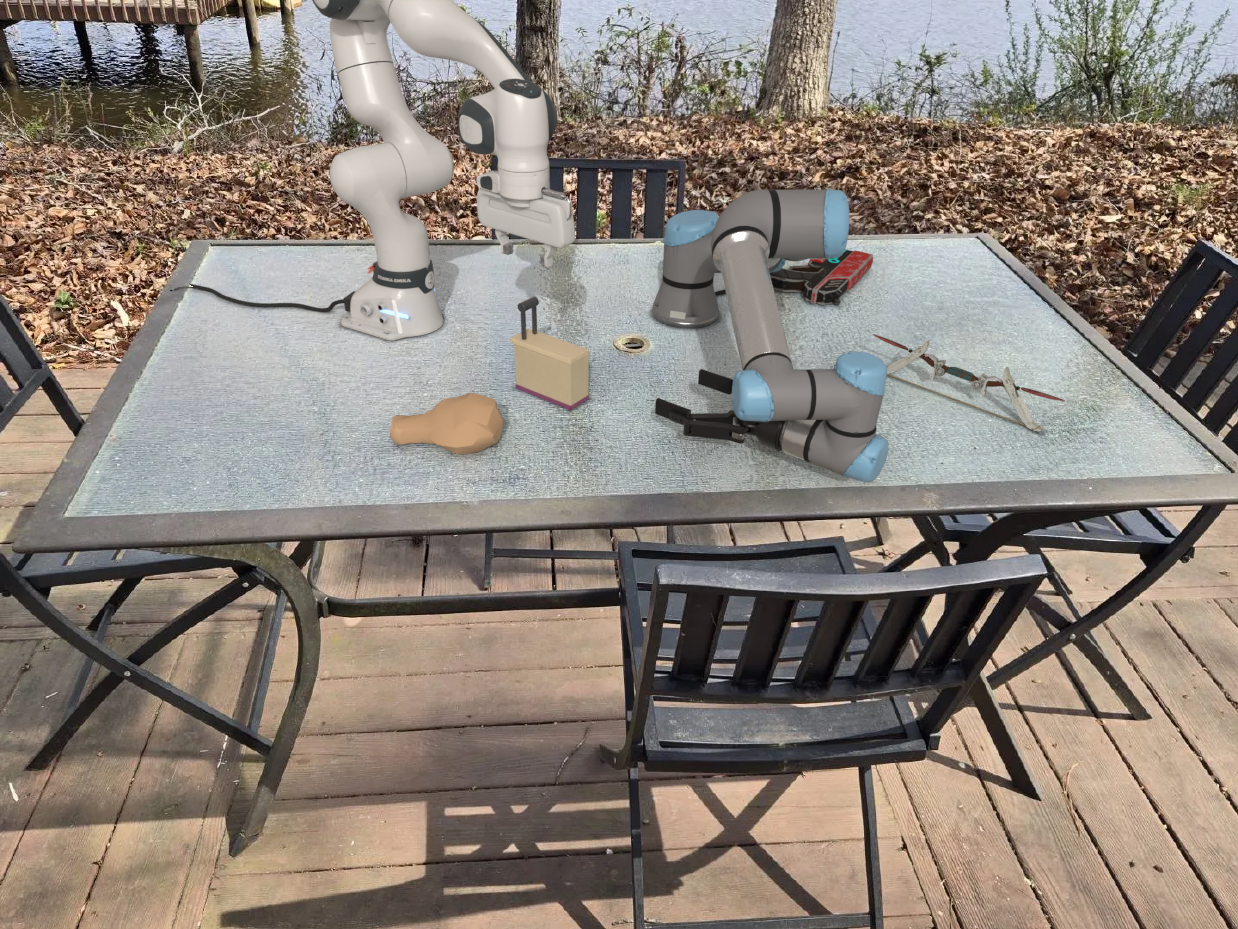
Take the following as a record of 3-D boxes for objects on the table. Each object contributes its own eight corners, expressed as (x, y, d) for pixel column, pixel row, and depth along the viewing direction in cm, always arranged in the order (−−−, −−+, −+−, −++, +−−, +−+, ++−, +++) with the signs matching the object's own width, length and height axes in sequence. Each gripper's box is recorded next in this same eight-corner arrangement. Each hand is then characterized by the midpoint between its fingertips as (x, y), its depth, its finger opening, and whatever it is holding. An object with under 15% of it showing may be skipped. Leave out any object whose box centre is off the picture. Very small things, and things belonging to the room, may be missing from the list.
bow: (1054, 434, 162) (1071, 386, 157) (1051, 438, 161) (1067, 390, 156) (868, 365, 184) (877, 321, 178) (864, 368, 183) (873, 324, 177)
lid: (510, 342, 167) (508, 300, 163) (529, 332, 171) (527, 292, 166) (570, 364, 160) (570, 322, 156) (588, 354, 164) (589, 312, 159)
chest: (516, 388, 172) (513, 344, 167) (534, 377, 176) (533, 334, 171) (570, 410, 166) (570, 365, 160) (588, 399, 169) (588, 354, 164)
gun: (761, 274, 213) (838, 293, 205) (807, 236, 235) (878, 252, 227) (759, 291, 216) (834, 311, 208) (805, 252, 238) (874, 269, 230)
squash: (504, 461, 151) (494, 421, 145) (391, 469, 152) (376, 431, 146) (510, 420, 159) (501, 381, 152) (403, 428, 160) (389, 390, 154)
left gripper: (582, 190, 148) (582, 268, 156) (493, 168, 158) (497, 242, 166) (559, 198, 144) (560, 278, 152) (469, 175, 154) (474, 251, 162)
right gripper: (749, 484, 134) (636, 438, 144) (820, 419, 151) (714, 383, 161) (754, 442, 130) (637, 399, 140) (826, 381, 147) (717, 346, 157)
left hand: (526, 259), depth 159 cm, fingers open, 8 cm apart
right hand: (678, 390), depth 151 cm, fingers open, 13 cm apart
